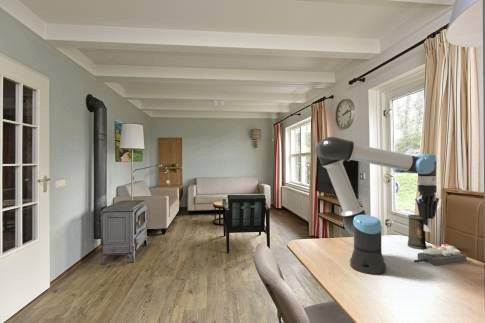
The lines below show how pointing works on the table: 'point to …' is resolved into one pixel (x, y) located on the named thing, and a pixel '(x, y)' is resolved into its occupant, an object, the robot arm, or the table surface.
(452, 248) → the rocker
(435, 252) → the rocker
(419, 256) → the rocker switch panel
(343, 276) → the table surface
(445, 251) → the rocker
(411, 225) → the container
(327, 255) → the table surface
